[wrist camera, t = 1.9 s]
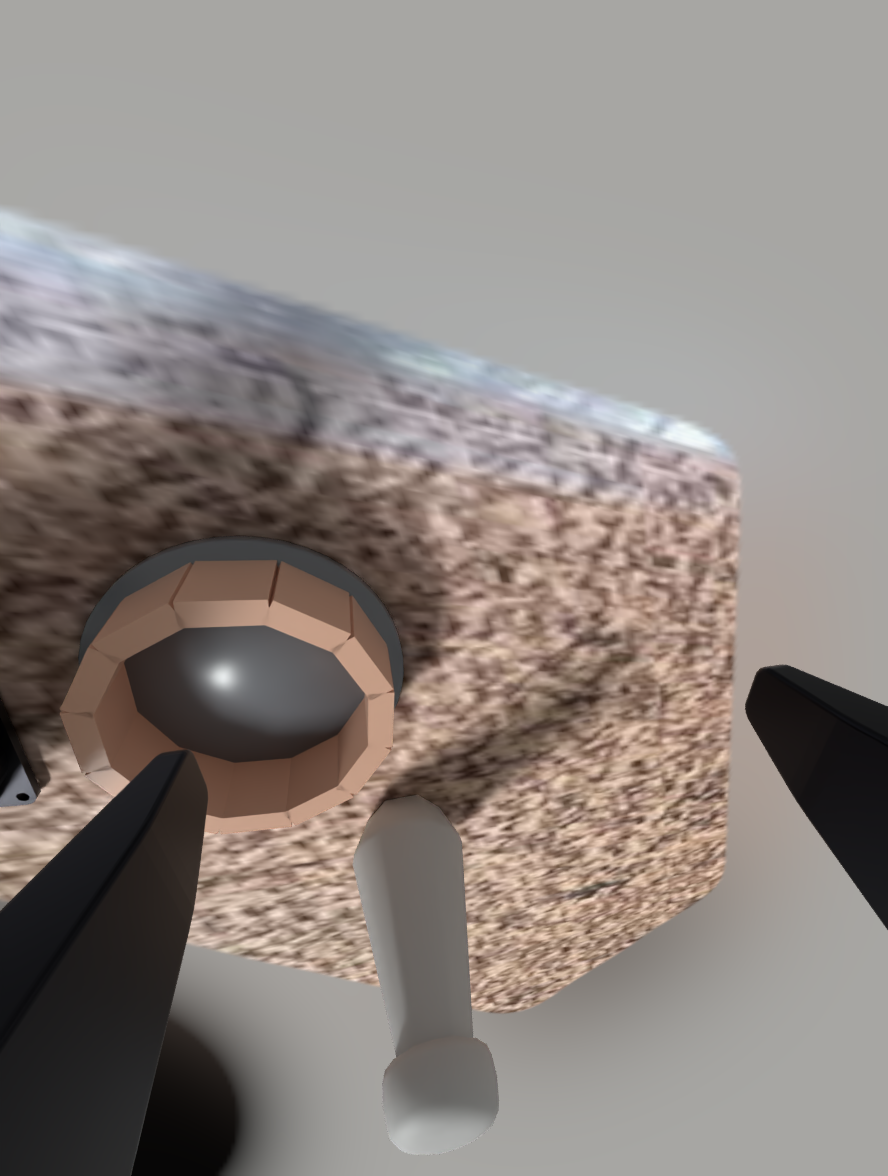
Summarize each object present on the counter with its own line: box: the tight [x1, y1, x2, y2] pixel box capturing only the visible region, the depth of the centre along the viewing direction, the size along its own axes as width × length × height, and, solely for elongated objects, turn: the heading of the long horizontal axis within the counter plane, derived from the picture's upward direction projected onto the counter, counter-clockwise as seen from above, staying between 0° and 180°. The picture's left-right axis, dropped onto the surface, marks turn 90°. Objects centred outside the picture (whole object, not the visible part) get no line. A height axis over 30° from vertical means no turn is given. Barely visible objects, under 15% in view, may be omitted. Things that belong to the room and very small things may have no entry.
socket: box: [60, 536, 404, 834], centre depth 21 cm, size 13×13×4 cm
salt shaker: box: [353, 795, 499, 1155], centre depth 23 cm, size 6×6×13 cm
